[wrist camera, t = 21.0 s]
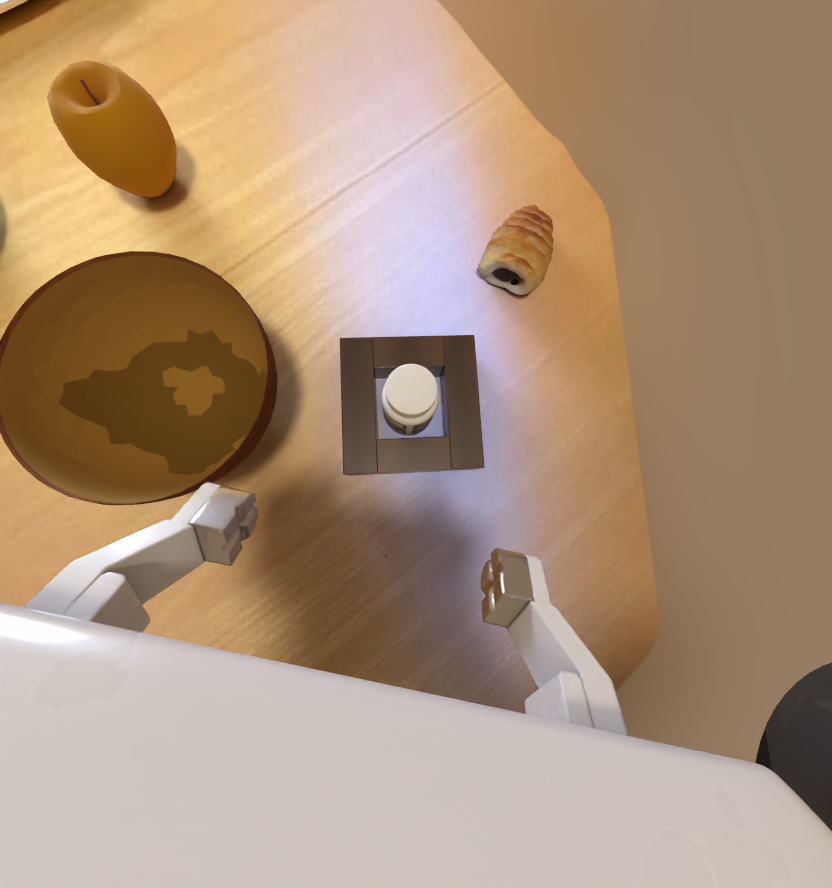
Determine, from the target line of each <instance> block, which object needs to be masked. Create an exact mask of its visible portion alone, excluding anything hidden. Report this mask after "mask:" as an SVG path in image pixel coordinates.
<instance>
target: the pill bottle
mask: <svg viewBox="0 0 832 888" xmlns="http://www.w3.org/2000/svg"><path fill="white" fill-rule="evenodd" d="M438 402H439V394H438V387H437V382H436V380H435V378H434V376H433V374H432V373H431V372H430V371H429V370H428V369H426V368H425V367H423V366H420V365H417V364H405V365H402V366H400V367H398V368H396V369H395V370H394V371H393V372H392V373H391V374H390V375H389V377H388V379H387V382H386V383H385V385H384V388H383V391H382V404H383V409H384V415H385V419H386V421H387V423H388V425H389V426H390V427H391V428H392V429H393V430H394V431H395V432H397V433H399V434H402V435H415V434H418V433H420V432H421V431H423V430H424V429H425V428H426V427H427V426H428V424H429V423H430V421H431V419H432V417H433V415H434V413H435V411H436V409H437V406H438Z"/></svg>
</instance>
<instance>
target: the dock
mask: <svg viewBox="0 0 832 888" xmlns="http://www.w3.org/2000/svg"><path fill="white" fill-rule="evenodd" d="M340 362H341V400H342V438H343V474H344V475H348V476H354V475H374V474H394V473H414V472H434V471H454V470H474V469H480V468H484V457H483V444H482V431H481V418H480V405H479V392H478V379H477V366H476V352H475V339H474V335H456V336H409V337H373V338H372V337H368V338H340ZM405 364H417V365H420V366H423V367H425V368H426V369H428V370H429V371H430V372H431V373H432V374H433V376H434V377H435V376H441V389H442V405H443V421H444V436H445V437H423V438H400V439H378V431H377V406H376V380H375V378H388V377H389V375H390V374H391V373H392V372H393V371H394V370H395V369H396V368H398V367H400V366H402V365H405Z"/></svg>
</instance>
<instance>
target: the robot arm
mask: <svg viewBox="0 0 832 888" xmlns="http://www.w3.org/2000/svg"><path fill="white" fill-rule="evenodd" d="M255 502H256V497H255V494H254V493H250V492H246V491H242V490H238V489H234V488H230V487H226V486H222V485H218V484H214V483H210V482H207V483H205V484H203V485H202V486H201V487H200V488H199V489H198V490H197V491H196V492H195V493H194V495H193V496H192V497H191V498H190V499H189V500H188V501H187V502H186V503H185V504H184V506H183V507H182V508H181V509H180V510H179V511H178V512H177V513H176V514H175V516H174V517H173V518H172V519H171V520H167V519H165V520H163V521H161V522H158V523H156V524H154V525H152V526H149V527H147V528H145V529H143V530H141V531H138V532H136V533H134V534H132V535H129V536H127V537H125V538H123V539H121V540H118V541H116V542H114V543H112V544H109V545H107V546H105V547H103V548H101V549H98V550H96V551H94V552H92V553H89V554H87V555H85V556H83V557H81V558H78V559H76V560H74V561H72V562H70V563H69V564H68V565H67V566H66V567H65V568H64V569H63V570H62V571H61V572H60V573H59V574H58V575H56V576H55V577H54V578H53V579H52V580H51V581H50V582H49V583H48V584H47V585H46V586H45V587H44V588H43V589H41V590H40V591H39V592H38V593H37V594H36V595H35V596H34V597H33V598H32V599H31V600H30V601H29V602H28V603H26V604H25V605H24V606H23V607H20V606H15V605H10V604H6V603H1V602H0V888H832V831H831V830H830V829H829V828H828V827H827V825H826V824H825V823H824V822H823V821H822V820H821V819H820V818H819V817H818V816H817V815H816V814H815V813H814V812H813V811H812V810H811V809H810V808H809V807H808V805H807V804H806V803H805V802H804V801H803V800H802V799H801V798H800V797H799V796H798V795H797V794H796V793H795V792H794V791H793V790H792V789H791V788H790V787H789V786H788V785H787V784H786V783H785V782H784V781H783V780H782V779H781V778H780V777H779V776H778V775H777V774H776V773H774V772H773V771H771V770H770V769H768V768H766V767H765V766H762V765H759V764H756V763H753V762H749V761H745V760H740V759H734V758H730V757H726V756H721V755H716V754H712V753H706V752H702V751H697V750H692V749H688V748H683V747H679V746H674V745H669V744H665V743H660V742H655V741H650V740H646V739H641V738H636V737H632V736H629V735H628V732H627V729H626V725H625V722H624V719H623V716H622V712H621V709H620V705H619V702H618V699H617V695H616V692H615V689H614V685H613V682H612V680H611V678H610V677H609V676H608V674H607V673H606V672H605V670H604V669H603V668H602V666H601V665H600V664H599V663H598V661H597V660H596V659H595V657H594V656H593V655H592V653H591V652H590V651H589V649H588V648H587V647H586V645H585V644H584V643H583V642H582V640H581V639H580V638H579V636H578V635H577V634H576V632H575V631H574V630H573V628H572V627H571V626H570V624H569V623H568V622H567V621H566V619H565V618H564V617H563V615H562V614H561V613H560V611H559V610H558V609H557V607H555V606H552V605H551V601H550V596H549V592H548V587H547V582H546V578H545V573H544V569H543V564H542V561H541V559H540V558H537V557H533V556H528V555H524V554H521V553H516V552H512V551H507V550H502V549H498V548H496V549H494V550H493V551H492V553H491V560H489V561H487V562H486V563H485V565H484V567H483V571H482V575H481V589H482V591H483V592H484V594H485V595H486V596H485V597H484V599H483V601H482V616H483V622H486V623H490V624H494V625H498V626H502V627H506V628H508V629H507V630H508V632H509V633H510V635H511V637H512V639H513V641H514V643H515V645H516V647H517V649H518V651H519V652H520V654H521V656H522V658H523V660H524V662H525V664H526V666H527V668H528V670H529V672H530V673H531V675H532V677H533V679H534V681H535V683H536V685H537V687H538V690H537V691H535V692H534V693H533V694H532V695H530V696H529V697H528V698H527V699H526V700H525V701H524V703H525V712H526V714H524V713H519V712H514V711H509V710H505V709H500V708H495V707H491V706H486V705H481V704H477V703H472V702H467V701H462V700H458V699H453V698H448V697H444V696H439V695H434V694H429V693H425V692H420V691H415V690H411V689H406V688H401V687H397V686H392V685H387V684H382V683H378V682H373V681H368V680H364V679H359V678H354V677H350V676H345V675H340V674H335V673H331V672H326V671H321V670H317V669H312V668H307V667H303V666H298V665H293V664H288V663H284V662H279V661H274V660H270V659H265V658H260V657H255V656H251V655H246V654H241V653H237V652H232V651H227V650H222V649H218V648H213V647H208V646H204V645H199V644H194V643H189V642H185V641H180V640H175V639H171V638H166V637H161V636H156V635H152V634H147V633H142V632H143V631H144V630H145V628H146V627H147V625H148V624H149V623H150V617H149V615H148V613H147V612H146V610H145V609H144V607H143V605H142V604H144V603H145V602H147V601H148V600H149V599H151V598H152V597H154V596H155V595H157V594H158V593H160V592H161V591H163V590H164V589H166V588H167V587H169V586H170V585H172V584H173V583H175V582H176V581H178V580H179V579H181V578H182V577H184V576H185V575H187V574H188V573H189V572H191V571H192V570H194V569H195V568H197V567H198V566H200V565H201V564H203V563H204V561H207V562H213V563H218V564H223V565H228V566H232V564H233V562H234V561H235V559H236V558H237V556H238V554H239V553H240V551H241V550H242V544H241V541H243V540H245V539H247V538H248V537H250V535H251V534H252V532H253V530H254V528H255V525H256V522H257V518H258V511H257V509H256V508H255V507H254V503H255Z"/></svg>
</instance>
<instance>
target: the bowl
mask: <svg viewBox="0 0 832 888" xmlns="http://www.w3.org/2000/svg"><path fill="white" fill-rule="evenodd" d="M276 393H277V374H276V366H275V359H274V355H273V351H272V348H271V345H270V342H269V340H268V337H267V335H266V333H265V331H264V328H263V326H262V324H261V323H260V321H259V319H258V318H257V316H256V315H255V313H254V312H253V310H252V308H251V307H250V305H249V304H248V303H247V302H246V301H245V299H244V298H243V297H242V296H241V295H240V293H239V292H238V291H237V290H236V289H235V288H234V287H233V286H231V285H230V284H229V283H228V282H227V281H225V280H224V279H223V278H222V277H221V276H219V275H218V274H216V273H214V272H213V271H211V270H210V269H208V268H206V267H205V266H202V265H200V264H198V263H195V262H193V261H191V260H188V259H186V258H182V257H179V256H175V255H171V254H165V253H158V252H136V251H129V252H123V253H116V254H110V255H104V256H100V257H96V258H93V259H90V260H88V261H85V262H82V263H80V264H78V265H76V266H73V267H71V268H69V269H67V270H66V271H64V272H62V273H60V274H59V275H57V276H55V277H54V278H52V279H51V280H49V281H48V282H47V283H45V284H44V285H43V286H42V287H40V288H39V289H38V290H36V291H35V292H34V293H33V294H32V295H31V296H30V297H29V298H28V299H27V300H26V301H25V302H24V304H23V305H22V306H21V308H20V309H19V310H18V311H17V313H16V314H15V316H14V317H13V319H12V320H11V322H10V324H9V325H8V327H7V329H6V331H5V333H4V334H3V336H2V338H1V340H0V433H1V435H2V437H3V440H4V442H5V443H6V445H7V447H8V448H9V450H10V451H11V453H12V454H13V456H14V457H15V458H16V459H17V460H18V462H19V463H20V464H21V465H22V466H23V467H24V468H25V469H26V470H27V471H28V472H29V473H31V474H32V475H33V476H34V477H35V478H36V479H37V480H39V481H41V482H42V483H44V484H45V485H47V486H49V487H50V488H52V489H54V490H56V491H58V492H61V493H63V494H65V495H67V496H69V497H72V498H76V499H80V500H84V501H88V502H93V503H98V504H103V505H134V504H145V503H152V502H158V501H163V500H167V499H171V498H175V497H179V496H182V495H185V494H188V493H190V492H193V491H196V490H198V489H199V488H200V487H201V486H202V485H203V484H205V483H207V482H210V483H212V482H214V481H216V480H218V479H219V478H221V477H223V476H224V475H226V474H227V473H228V472H230V471H231V470H232V469H234V468H235V467H236V466H237V465H238V464H240V463H241V462H242V461H243V460H244V459H245V458H246V457H247V456H248V455H249V454H250V452H251V451H252V450H253V449H254V447H255V446H256V445H257V444H258V442H259V441H260V439H261V438H262V436H263V434H264V432H265V430H266V428H267V426H268V424H269V422H270V419H271V416H272V413H273V409H274V406H275V400H276Z"/></svg>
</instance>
